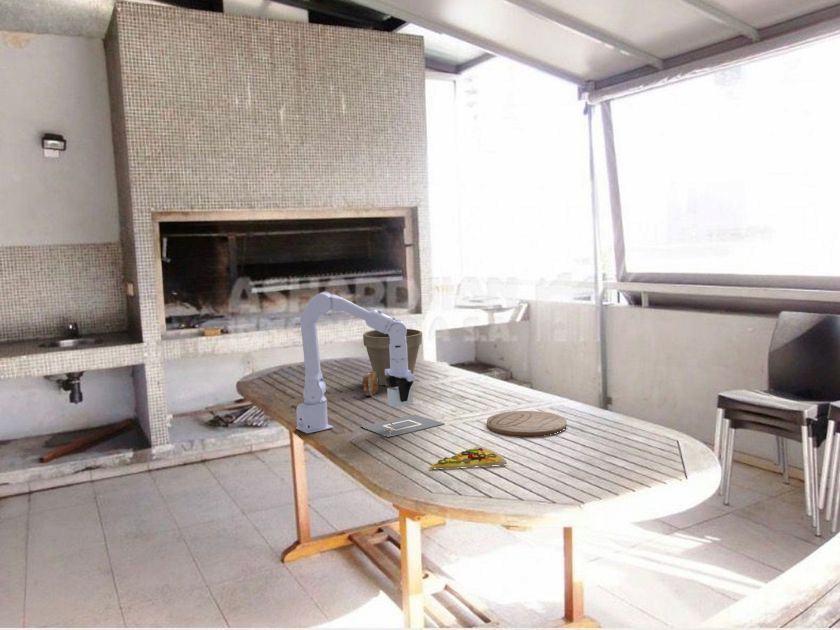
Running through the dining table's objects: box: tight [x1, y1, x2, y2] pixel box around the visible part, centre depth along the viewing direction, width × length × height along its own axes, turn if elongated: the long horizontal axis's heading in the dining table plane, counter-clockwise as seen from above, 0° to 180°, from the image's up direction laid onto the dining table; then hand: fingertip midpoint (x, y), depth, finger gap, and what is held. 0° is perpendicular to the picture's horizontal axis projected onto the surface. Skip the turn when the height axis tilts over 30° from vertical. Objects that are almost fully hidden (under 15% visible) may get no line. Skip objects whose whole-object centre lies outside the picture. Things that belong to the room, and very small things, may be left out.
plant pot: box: [362, 328, 423, 387], centre depth 282 cm, size 25×25×22 cm
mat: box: [360, 414, 445, 438], centre depth 217 cm, size 22×16×1 cm
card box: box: [386, 386, 414, 408], centre depth 216 cm, size 4×7×6 cm, turn 125°
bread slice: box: [362, 370, 380, 397], centre depth 264 cm, size 15×3×8 cm, turn 168°
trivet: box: [486, 410, 568, 438], centre depth 212 cm, size 25×25×2 cm
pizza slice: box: [428, 446, 508, 470], centre depth 178 cm, size 16×21×3 cm
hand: (400, 400), depth 216 cm, fingers closed on card box, 4 cm apart
